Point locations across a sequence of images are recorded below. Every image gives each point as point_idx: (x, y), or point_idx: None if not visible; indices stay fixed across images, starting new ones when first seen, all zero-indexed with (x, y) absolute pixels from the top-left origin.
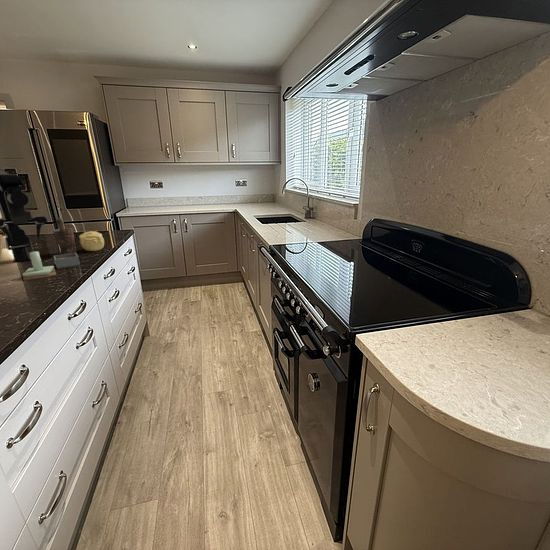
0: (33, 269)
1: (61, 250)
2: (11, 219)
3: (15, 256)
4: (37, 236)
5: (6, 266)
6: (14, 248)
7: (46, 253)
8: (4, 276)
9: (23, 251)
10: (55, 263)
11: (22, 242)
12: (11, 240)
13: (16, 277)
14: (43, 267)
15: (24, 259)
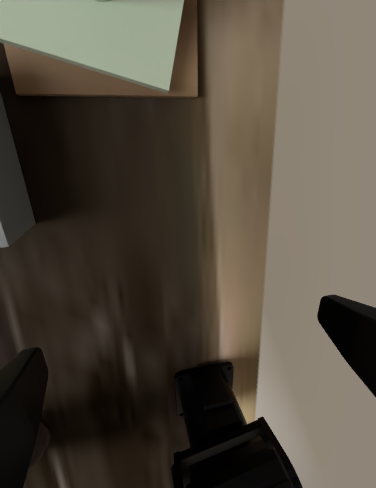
0: (136, 13)
1: (35, 455)
2: None
3: (229, 391)
4: (17, 376)
5: (256, 312)
6: (242, 431)
7: (119, 457)
8: (275, 117)
9: (202, 414)
10: (25, 208)
11: (212, 470)
12: (345, 299)
13: (229, 34)
14: (68, 25)
15: (196, 371)
